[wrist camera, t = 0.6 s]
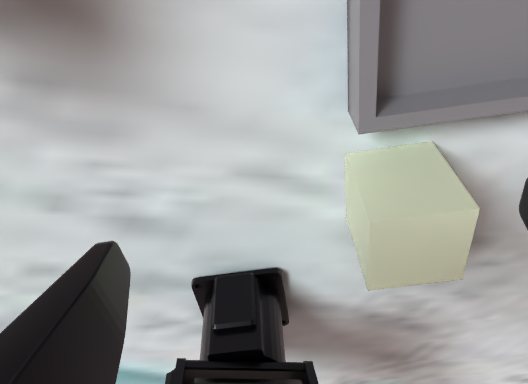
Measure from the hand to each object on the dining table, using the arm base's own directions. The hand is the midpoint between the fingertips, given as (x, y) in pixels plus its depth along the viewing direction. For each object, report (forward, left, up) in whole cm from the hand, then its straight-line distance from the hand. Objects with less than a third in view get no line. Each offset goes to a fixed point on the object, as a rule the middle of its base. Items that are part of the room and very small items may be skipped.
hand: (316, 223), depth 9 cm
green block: (-10, -6, -13) cm, 17 cm away
